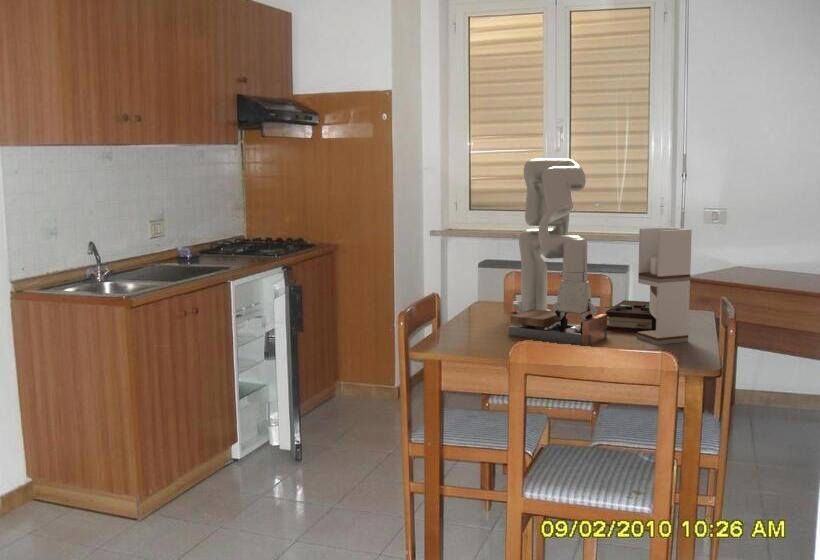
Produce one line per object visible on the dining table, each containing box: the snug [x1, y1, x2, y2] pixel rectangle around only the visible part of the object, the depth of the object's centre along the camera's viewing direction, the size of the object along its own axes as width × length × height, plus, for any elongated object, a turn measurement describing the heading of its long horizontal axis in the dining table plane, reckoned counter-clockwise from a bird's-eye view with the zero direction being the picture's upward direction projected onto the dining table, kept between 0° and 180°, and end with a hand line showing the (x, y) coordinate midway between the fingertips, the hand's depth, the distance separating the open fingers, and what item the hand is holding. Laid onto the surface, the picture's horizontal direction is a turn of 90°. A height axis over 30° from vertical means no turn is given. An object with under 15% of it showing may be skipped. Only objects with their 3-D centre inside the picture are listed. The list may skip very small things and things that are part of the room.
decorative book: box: [604, 299, 656, 333], centre depth 293 cm, size 19×8×30 cm
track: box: [508, 313, 608, 346], centre depth 276 cm, size 28×14×8 cm, turn 54°
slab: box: [510, 309, 560, 327], centre depth 280 cm, size 12×15×2 cm
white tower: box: [636, 226, 693, 346], centre depth 267 cm, size 11×11×35 cm
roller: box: [564, 324, 581, 333], centre depth 273 cm, size 4×8×4 cm, turn 144°
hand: (574, 332), depth 273 cm, fingers open, 6 cm apart
